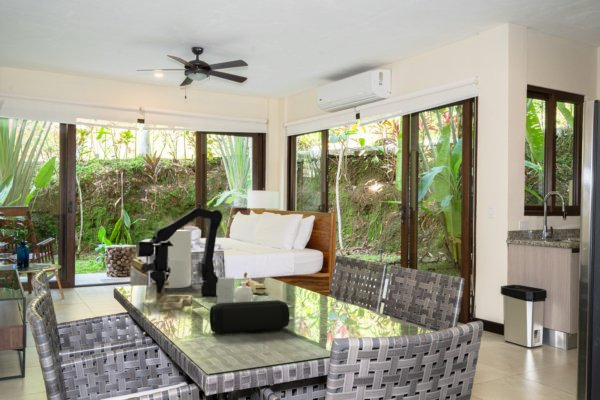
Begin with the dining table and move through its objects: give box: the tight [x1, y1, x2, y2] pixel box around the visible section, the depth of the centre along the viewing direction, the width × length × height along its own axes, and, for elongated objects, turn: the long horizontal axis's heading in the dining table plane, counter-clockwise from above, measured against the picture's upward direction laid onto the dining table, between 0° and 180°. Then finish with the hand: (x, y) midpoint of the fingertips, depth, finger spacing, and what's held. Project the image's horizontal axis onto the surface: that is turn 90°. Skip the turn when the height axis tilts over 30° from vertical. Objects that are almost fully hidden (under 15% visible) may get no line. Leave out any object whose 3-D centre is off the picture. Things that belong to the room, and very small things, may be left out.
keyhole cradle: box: [158, 294, 193, 310], centre depth 204 cm, size 12×18×2 cm
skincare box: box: [216, 276, 235, 304], centre depth 202 cm, size 6×4×12 cm
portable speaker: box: [209, 299, 290, 335], centre depth 165 cm, size 26×10×10 cm, turn 111°
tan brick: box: [151, 280, 169, 300], centre depth 217 cm, size 7×3×8 cm, turn 97°
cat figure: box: [238, 272, 269, 295], centre depth 242 cm, size 10×9×25 cm
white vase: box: [233, 281, 254, 302], centre depth 192 cm, size 8×8×12 cm
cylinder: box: [156, 229, 192, 289], centre depth 253 cm, size 17×17×28 cm
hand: (160, 291), depth 217 cm, fingers open, 6 cm apart
